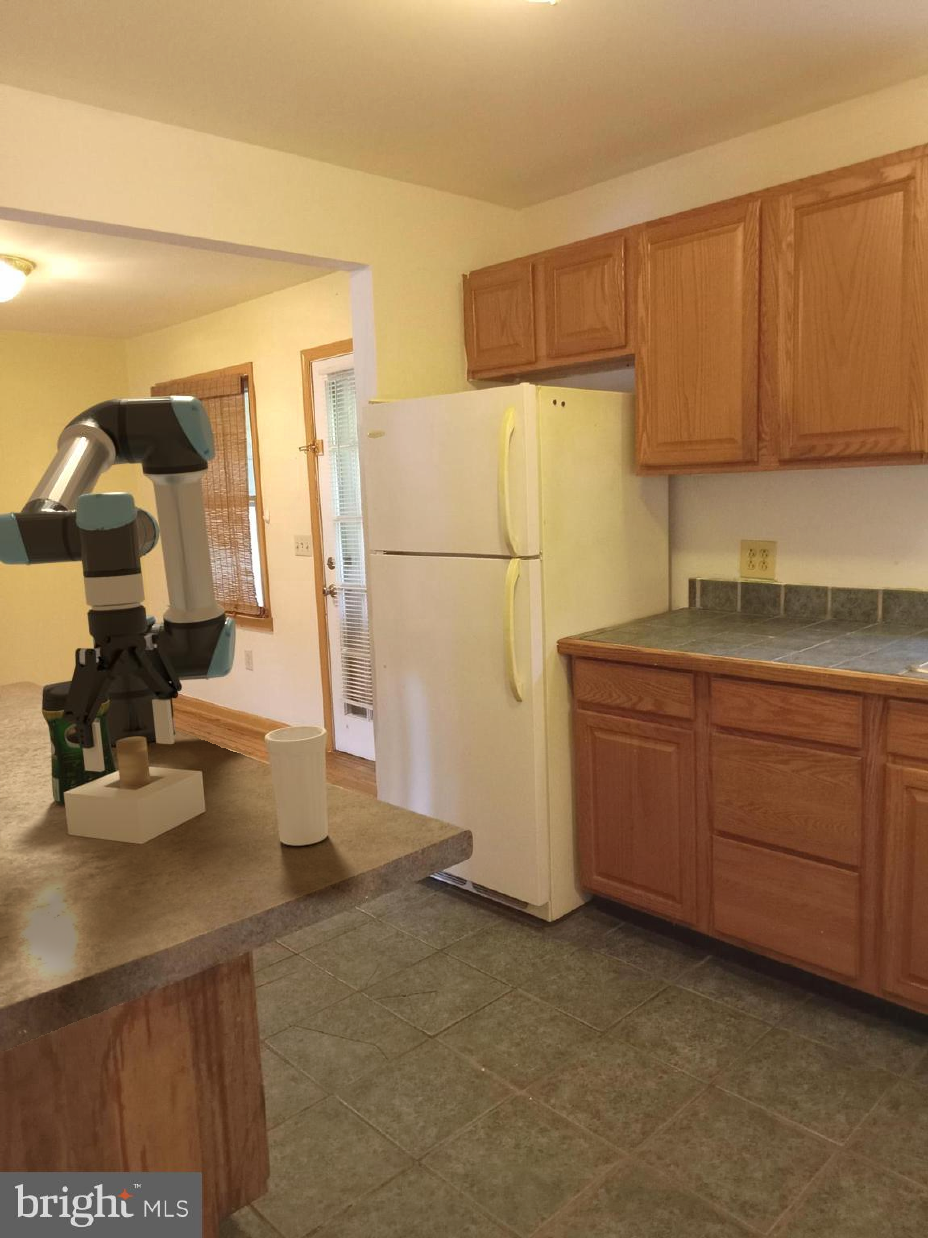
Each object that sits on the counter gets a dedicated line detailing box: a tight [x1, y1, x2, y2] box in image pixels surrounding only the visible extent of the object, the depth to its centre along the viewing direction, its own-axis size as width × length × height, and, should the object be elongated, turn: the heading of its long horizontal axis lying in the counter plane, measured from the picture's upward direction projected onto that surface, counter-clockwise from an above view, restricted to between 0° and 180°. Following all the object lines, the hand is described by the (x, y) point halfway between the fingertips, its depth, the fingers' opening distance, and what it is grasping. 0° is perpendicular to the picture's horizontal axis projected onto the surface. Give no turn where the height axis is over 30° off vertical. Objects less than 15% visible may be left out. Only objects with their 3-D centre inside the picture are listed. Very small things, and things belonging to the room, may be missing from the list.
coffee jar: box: [41, 680, 118, 806], centre depth 140 cm, size 10×8×19 cm
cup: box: [264, 725, 329, 846], centre depth 118 cm, size 8×8×14 cm
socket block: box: [64, 766, 207, 845], centre depth 128 cm, size 13×13×6 cm
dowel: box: [115, 736, 151, 790], centre depth 128 cm, size 4×4×12 cm
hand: (131, 756), depth 127 cm, fingers open, 13 cm apart
